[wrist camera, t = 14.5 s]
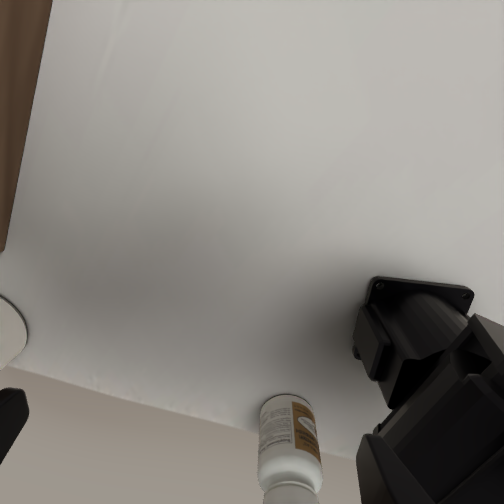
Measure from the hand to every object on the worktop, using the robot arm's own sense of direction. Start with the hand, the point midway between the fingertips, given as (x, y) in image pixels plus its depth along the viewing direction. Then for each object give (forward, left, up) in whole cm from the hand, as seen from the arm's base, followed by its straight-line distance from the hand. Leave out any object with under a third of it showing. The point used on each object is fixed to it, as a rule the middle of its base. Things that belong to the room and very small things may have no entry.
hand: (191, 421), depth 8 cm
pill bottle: (-5, +14, -13) cm, 20 cm away
